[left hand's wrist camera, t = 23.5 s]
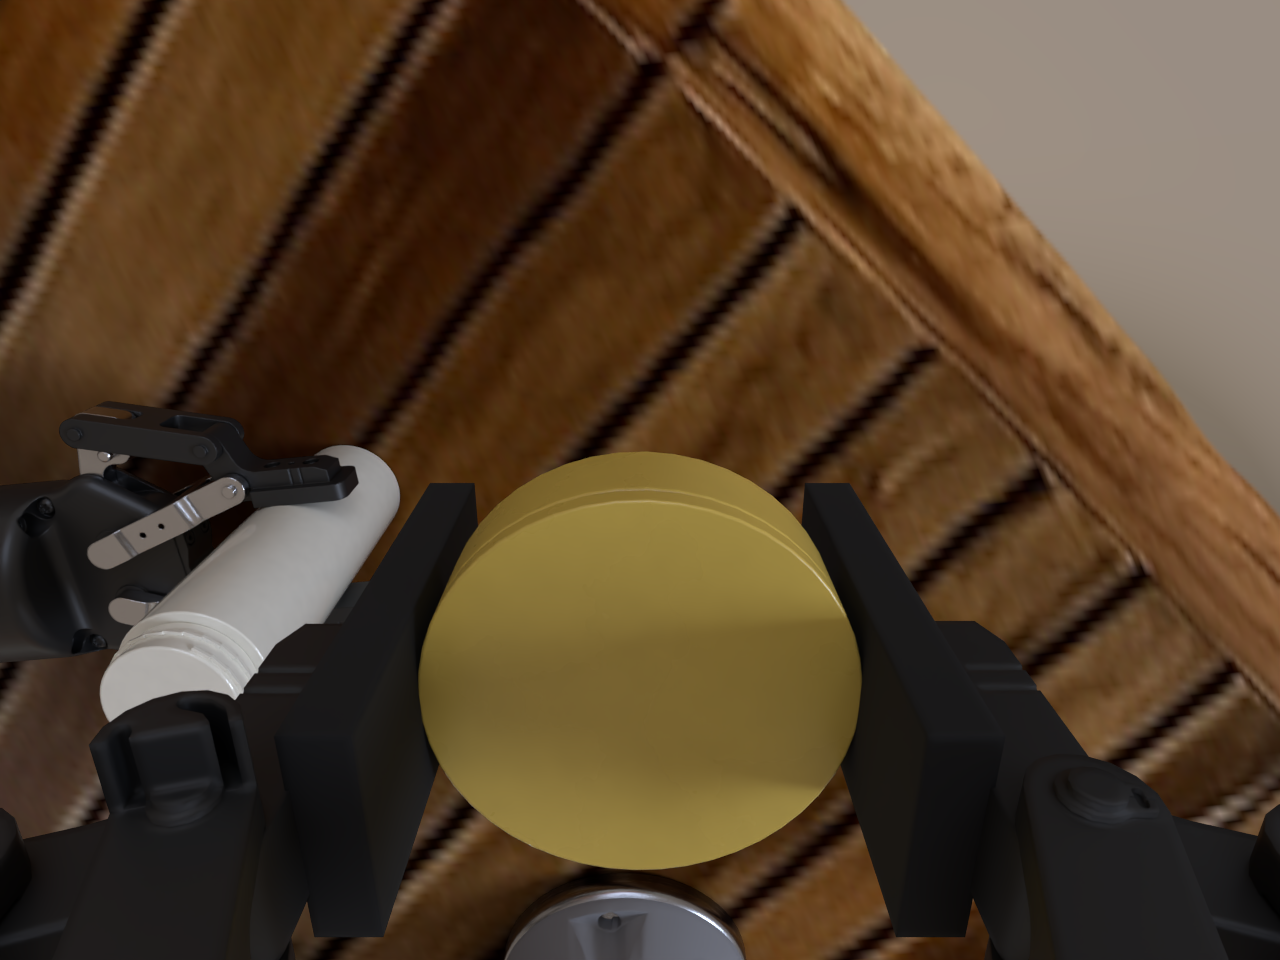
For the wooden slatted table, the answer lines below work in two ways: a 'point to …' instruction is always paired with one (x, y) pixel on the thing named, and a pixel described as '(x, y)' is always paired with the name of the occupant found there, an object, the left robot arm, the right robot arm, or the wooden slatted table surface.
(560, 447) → the wooden slatted table surface
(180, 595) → the jar
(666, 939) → the left robot arm
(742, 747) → the lid
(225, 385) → the wooden slatted table surface
